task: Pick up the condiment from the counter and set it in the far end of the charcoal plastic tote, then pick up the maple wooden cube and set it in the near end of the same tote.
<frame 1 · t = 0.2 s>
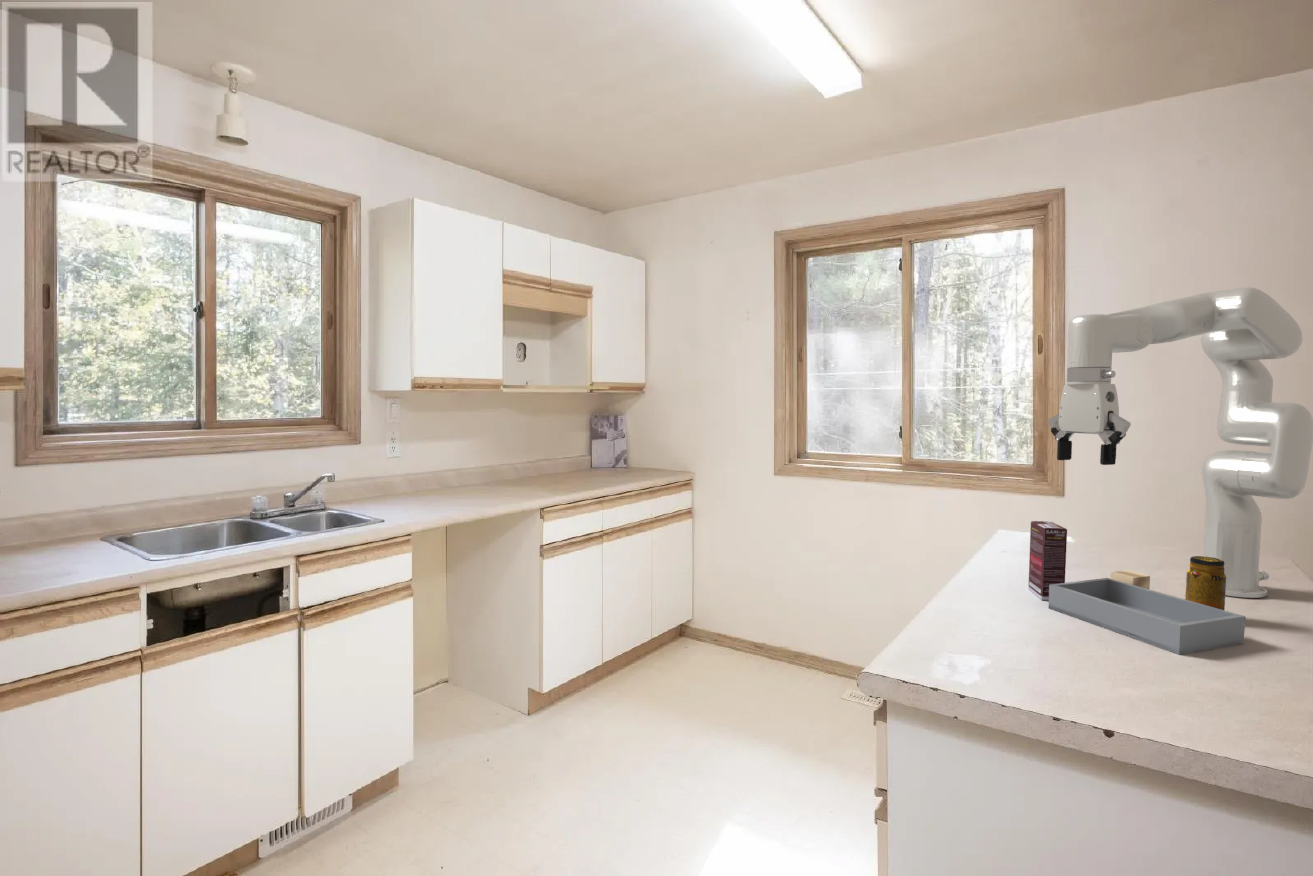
hand: (1085, 462, 135), 31 cm above the worktop, tool pointing down, fingers open, 9 cm apart
supplement box: (1045, 596, 147), on the worktop
cube: (1129, 596, 147), on the worktop
tote: (1138, 624, 129), on the worktop
condiment: (1208, 620, 131), on the worktop
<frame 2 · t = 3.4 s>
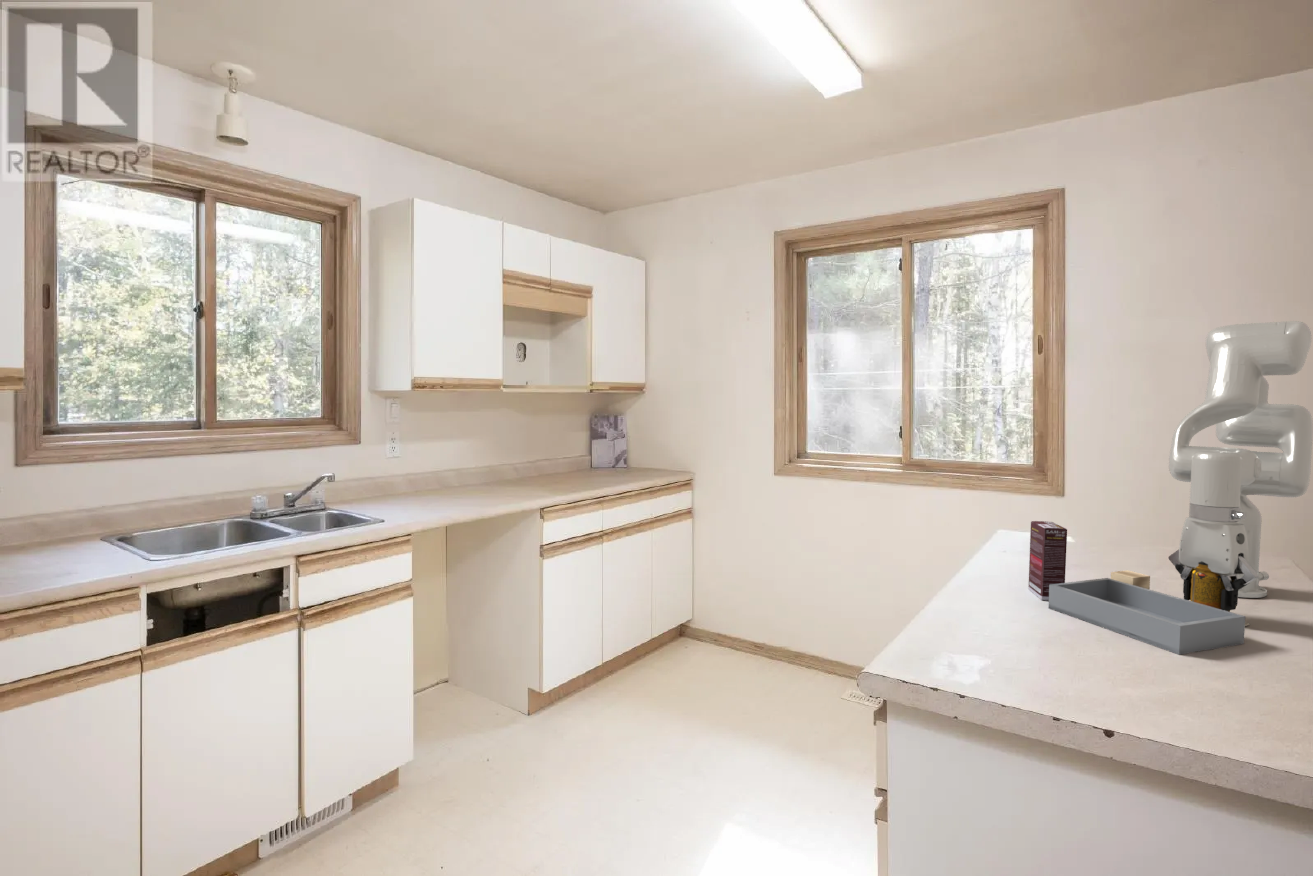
hand: (1209, 603, 131), 3 cm above the worktop, tool pointing down, fingers closed on condiment, 6 cm apart
condiment: (1213, 621, 131), on the worktop, touching gripper
everything else where it was.
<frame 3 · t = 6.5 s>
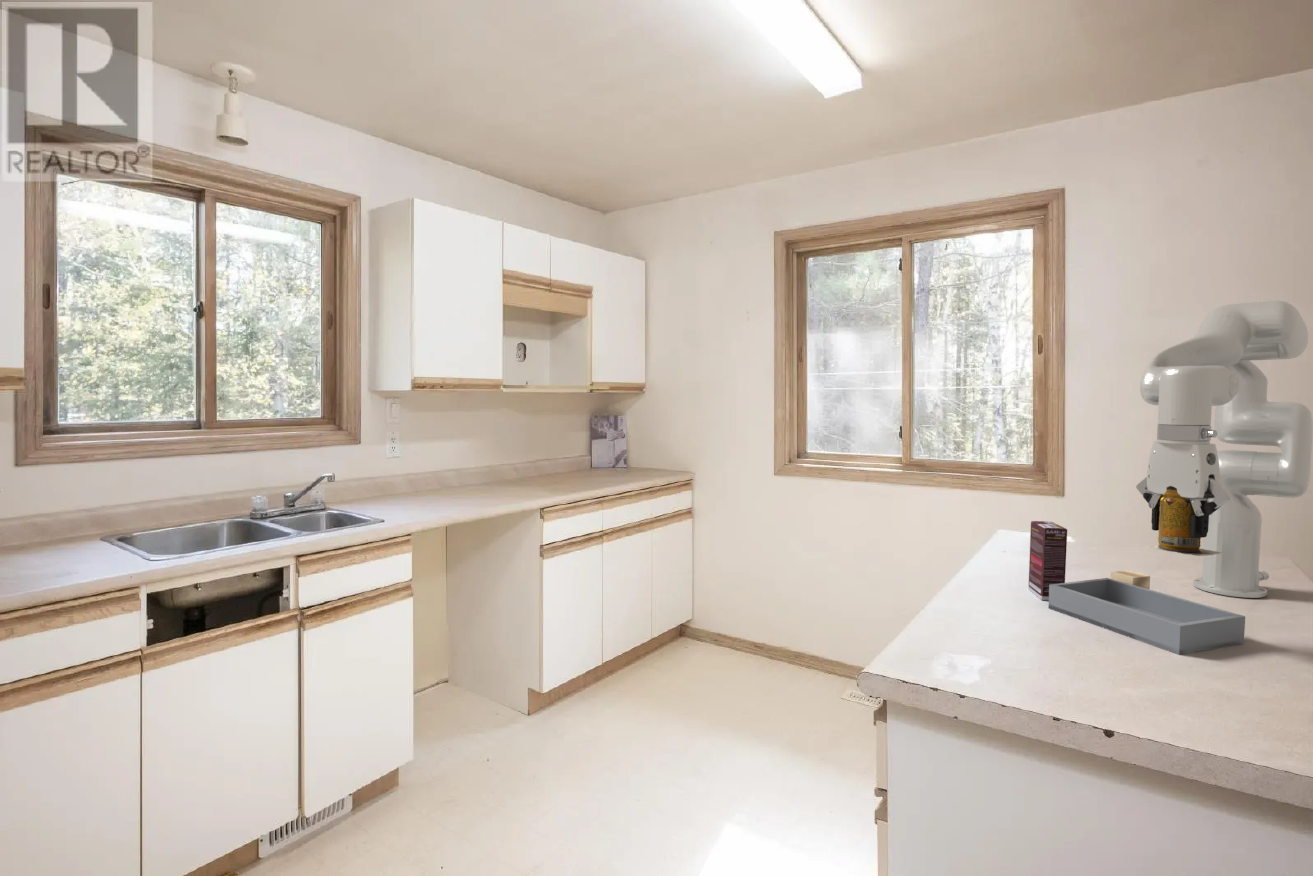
hand: (1178, 532, 121), 19 cm above the worktop, tool pointing down, fingers closed on condiment, 6 cm apart
condiment: (1183, 551, 121), point 16 cm above the worktop, touching gripper
everything else where it was.
when the fingers open (5 cm above the worktop, at t = 9.5 s): condiment drops 1 cm, resting on tote.
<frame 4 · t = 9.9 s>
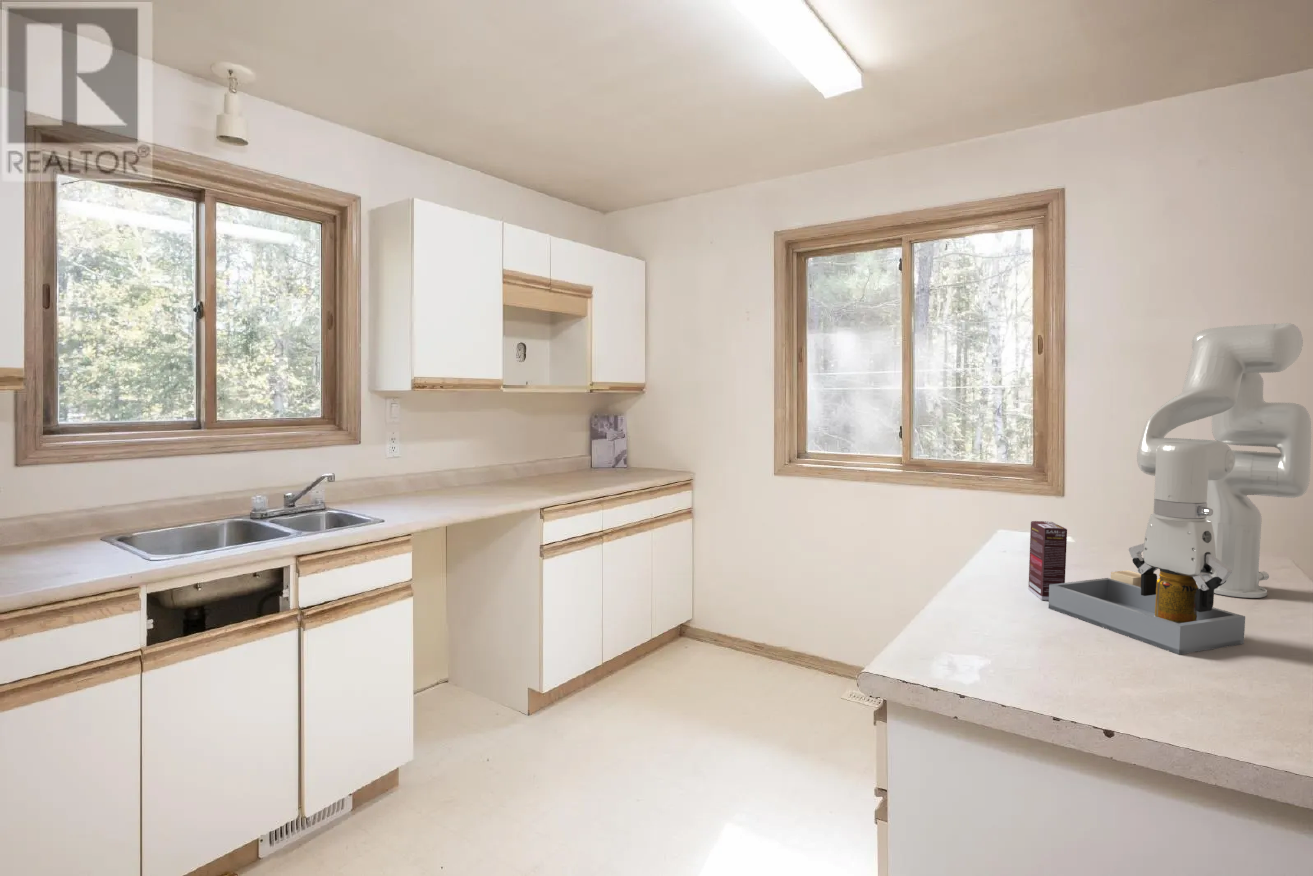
hand: (1175, 602, 122), 6 cm above the worktop, tool pointing down, fingers open, 9 cm apart
condiment: (1179, 634, 122), point 1 cm above the worktop, touching tote
everything else where it was.
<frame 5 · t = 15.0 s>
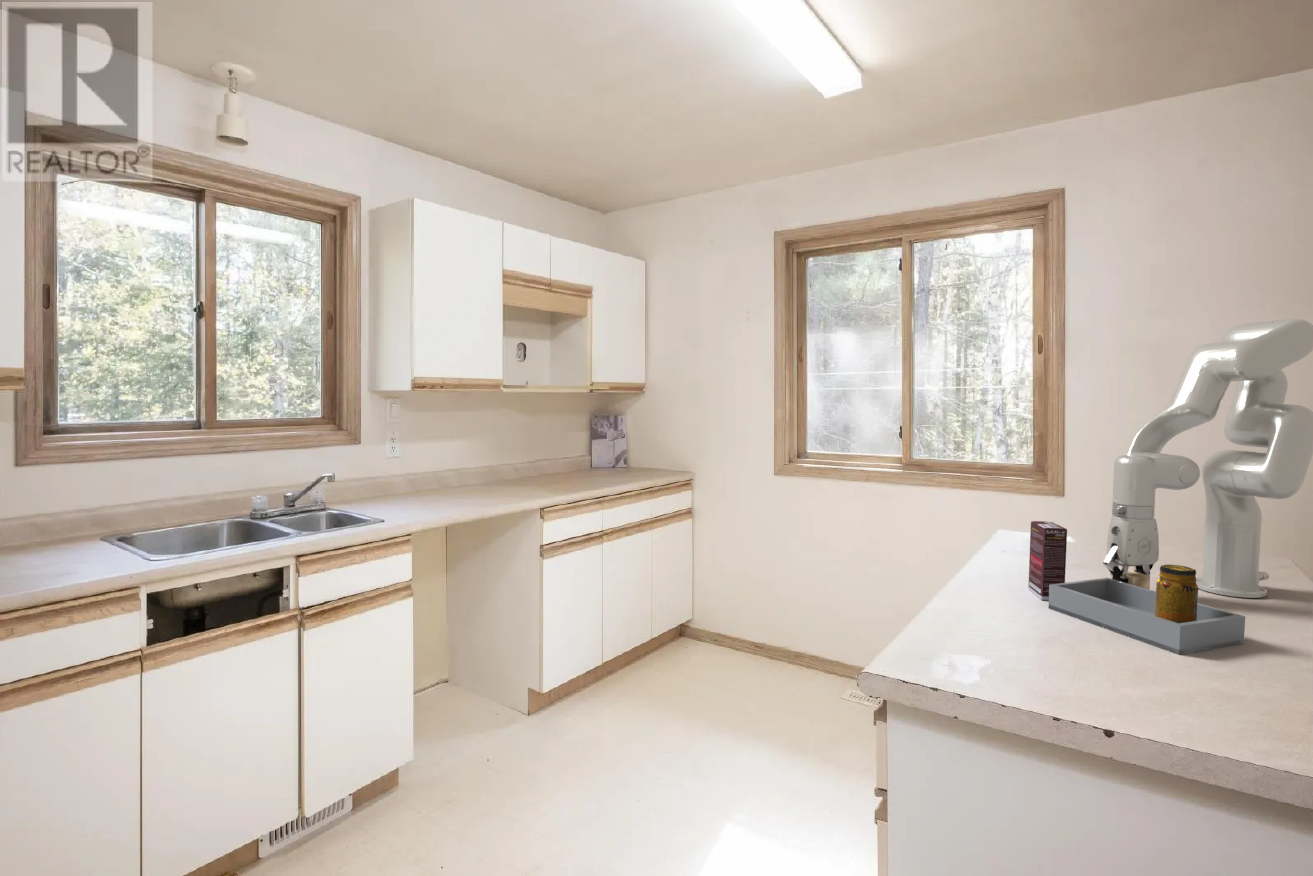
hand: (1129, 592, 147), 1 cm above the worktop, tool pointing down, fingers closed on cube, 5 cm apart
cube: (1129, 596, 147), on the worktop, touching gripper
everything else where it was.
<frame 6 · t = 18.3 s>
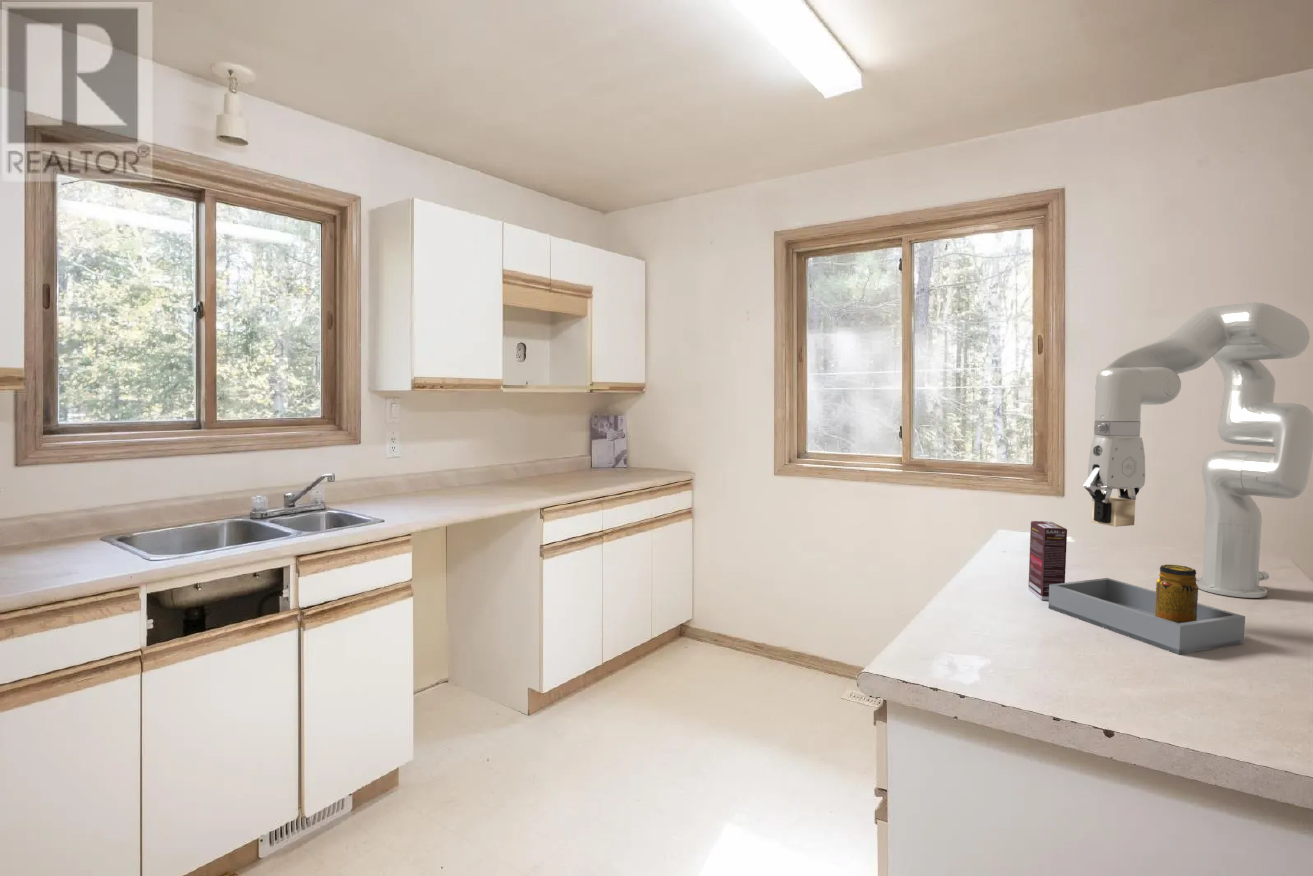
hand: (1113, 520, 133), 19 cm above the worktop, tool pointing down, fingers closed on cube, 5 cm apart
cube: (1112, 523, 133), point 19 cm above the worktop, touching gripper
everything else where it was.
when the fingers open (3 cm above the worktop, at t = 21.7 s): cube drops 1 cm, resting on tote.
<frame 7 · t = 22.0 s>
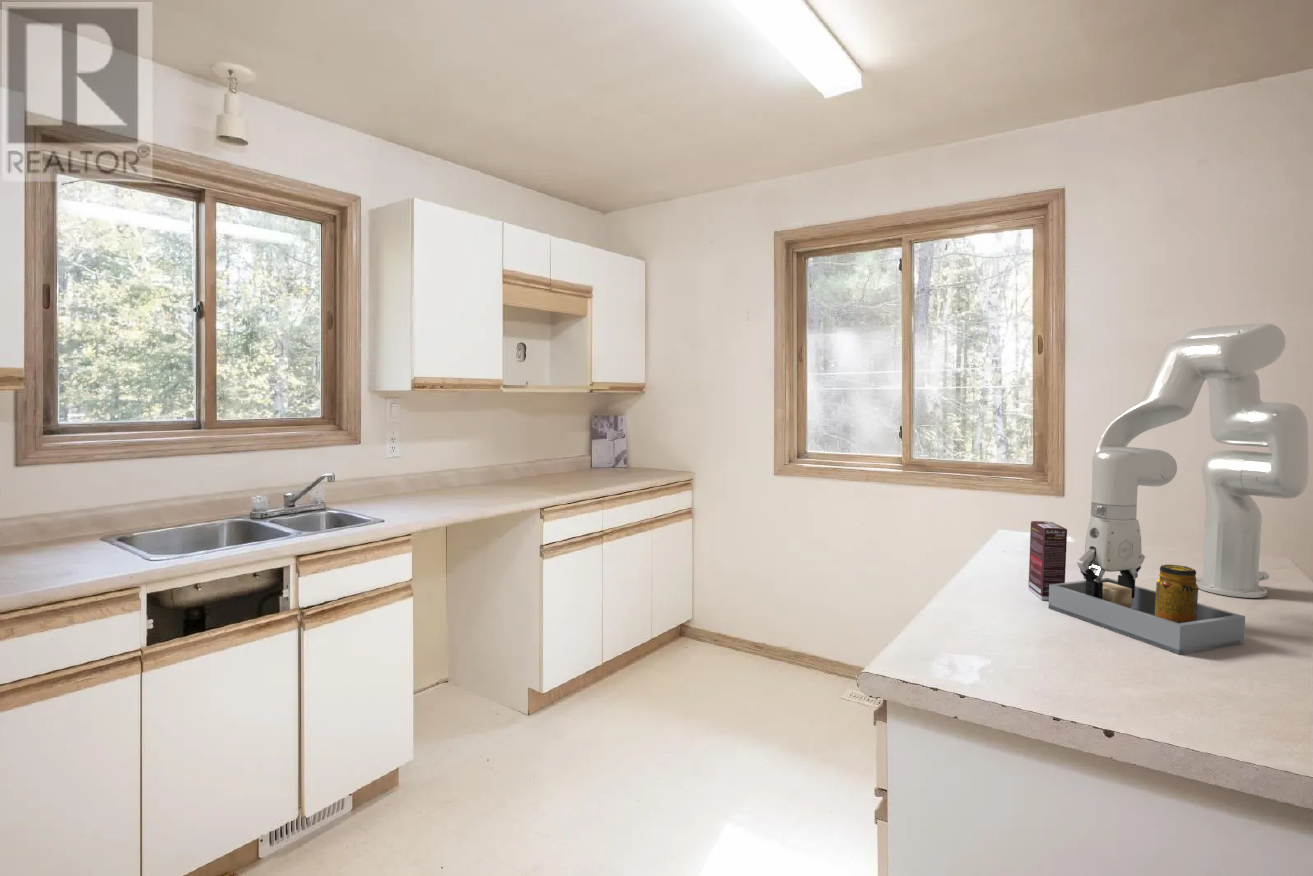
hand: (1109, 598, 134), 3 cm above the worktop, tool pointing down, fingers open, 8 cm apart
cube: (1109, 610, 134), point 1 cm above the worktop, touching tote
everything else where it was.
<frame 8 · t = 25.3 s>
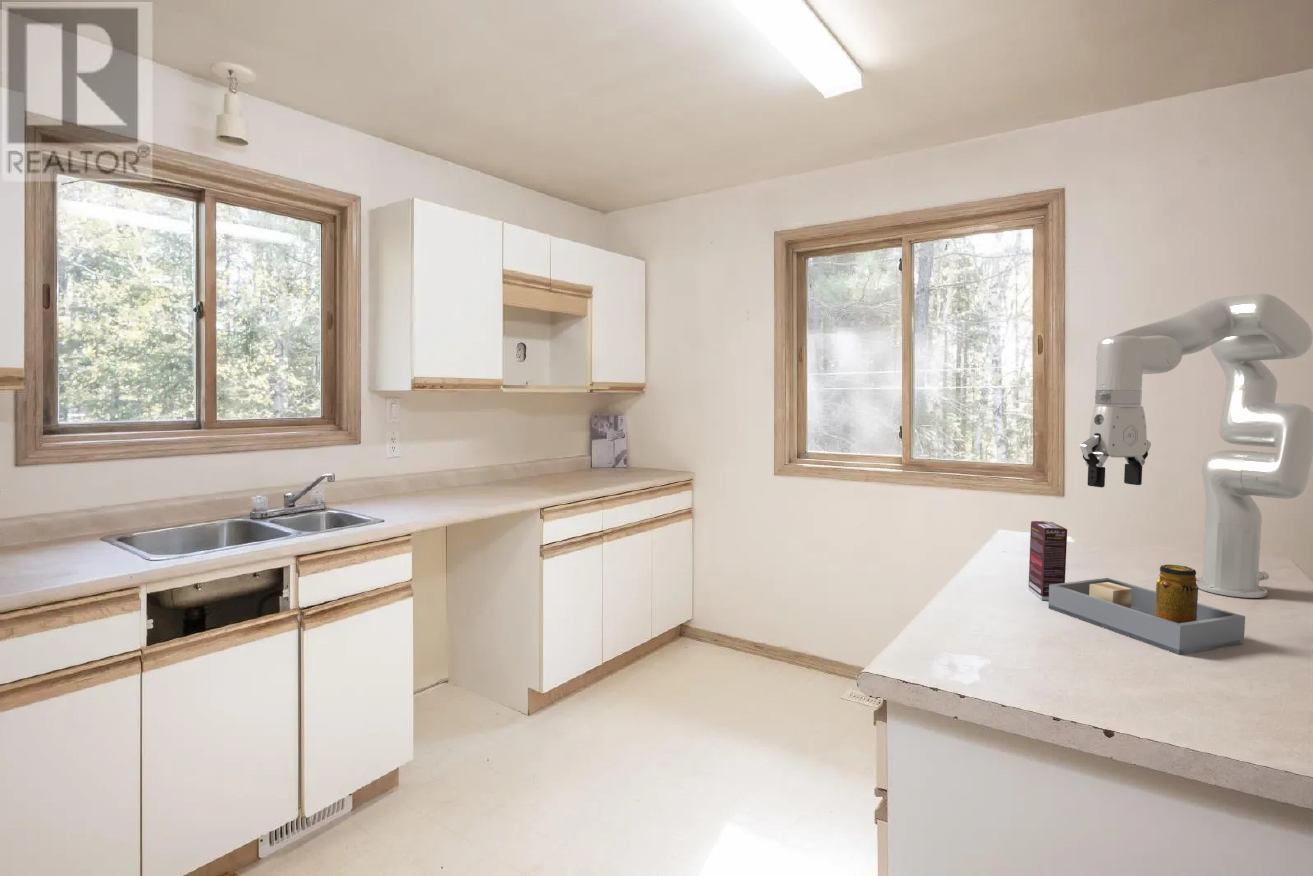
hand: (1114, 485, 133), 26 cm above the worktop, tool pointing down, fingers open, 9 cm apart
nothing on the worktop moved.
at the end: condiment inside the target area on the tote (7.3 cm from its centre), point 0.6 cm above the tote's base; cube inside the target area on the tote (6.0 cm from its centre), point 0.8 cm above the tote's base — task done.
